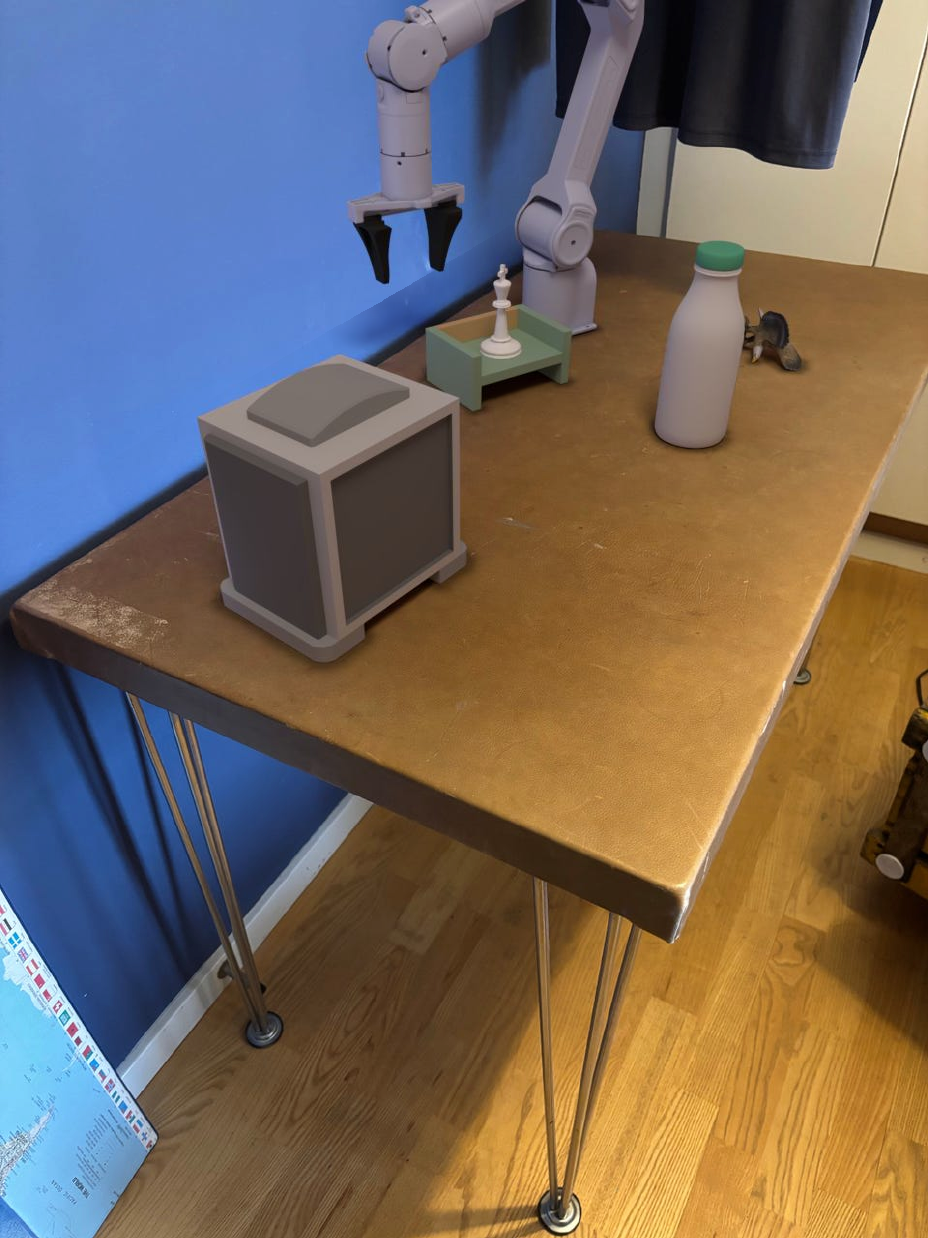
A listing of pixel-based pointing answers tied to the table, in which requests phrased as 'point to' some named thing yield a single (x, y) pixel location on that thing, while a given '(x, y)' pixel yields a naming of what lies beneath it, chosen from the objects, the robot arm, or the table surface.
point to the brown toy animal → (772, 338)
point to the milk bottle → (703, 351)
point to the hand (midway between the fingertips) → (410, 275)
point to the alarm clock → (334, 499)
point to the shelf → (467, 370)
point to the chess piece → (501, 324)
